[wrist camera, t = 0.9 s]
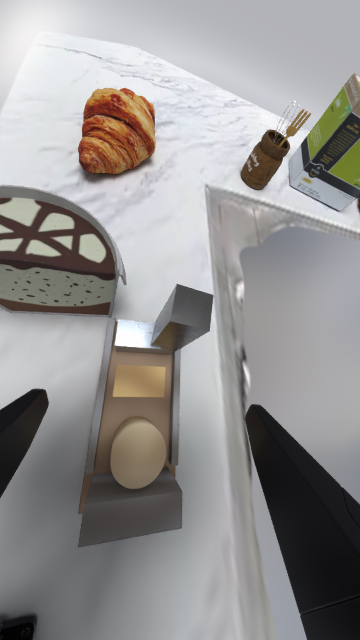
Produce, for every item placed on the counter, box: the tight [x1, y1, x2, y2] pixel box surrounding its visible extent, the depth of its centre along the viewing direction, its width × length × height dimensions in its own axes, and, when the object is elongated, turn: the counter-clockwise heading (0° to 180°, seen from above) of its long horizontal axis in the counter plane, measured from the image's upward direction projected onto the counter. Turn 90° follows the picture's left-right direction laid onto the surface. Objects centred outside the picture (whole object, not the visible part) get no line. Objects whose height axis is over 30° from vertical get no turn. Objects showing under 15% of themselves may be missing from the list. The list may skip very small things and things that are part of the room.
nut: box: [110, 416, 166, 489], centre depth 15 cm, size 4×4×4 cm
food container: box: [0, 185, 126, 317], centre depth 16 cm, size 12×6×10 cm, turn 93°
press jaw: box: [115, 284, 213, 355], centre depth 15 cm, size 3×6×10 cm, turn 88°
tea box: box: [289, 73, 360, 211], centre depth 39 cm, size 15×10×15 cm, turn 78°
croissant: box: [78, 88, 156, 174], centre depth 28 cm, size 21×10×8 cm, turn 160°
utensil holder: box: [241, 102, 311, 189], centre depth 33 cm, size 6×6×12 cm
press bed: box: [78, 317, 182, 547], centre depth 17 cm, size 16×8×6 cm, turn 178°
